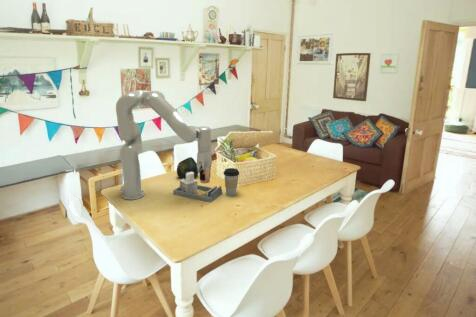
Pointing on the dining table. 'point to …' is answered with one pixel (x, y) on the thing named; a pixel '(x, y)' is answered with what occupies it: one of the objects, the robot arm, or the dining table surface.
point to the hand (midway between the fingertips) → (205, 178)
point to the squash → (187, 167)
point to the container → (188, 183)
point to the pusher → (211, 191)
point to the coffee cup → (231, 181)
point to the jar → (206, 175)
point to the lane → (212, 197)
